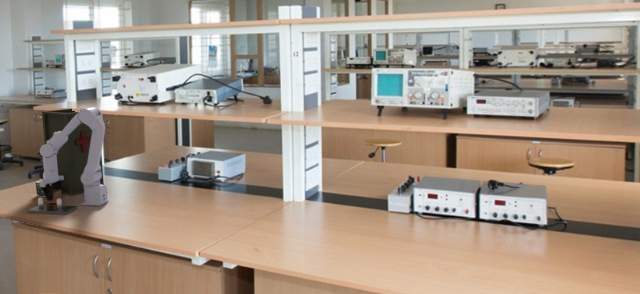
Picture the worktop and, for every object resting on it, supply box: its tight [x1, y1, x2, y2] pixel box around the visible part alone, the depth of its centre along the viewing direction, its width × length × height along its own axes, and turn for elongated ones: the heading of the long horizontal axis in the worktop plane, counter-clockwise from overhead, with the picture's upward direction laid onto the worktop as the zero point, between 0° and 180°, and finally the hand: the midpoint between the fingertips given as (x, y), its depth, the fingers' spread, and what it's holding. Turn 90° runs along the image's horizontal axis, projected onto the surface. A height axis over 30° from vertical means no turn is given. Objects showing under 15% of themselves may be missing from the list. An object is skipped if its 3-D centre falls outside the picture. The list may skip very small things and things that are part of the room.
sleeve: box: [44, 190, 63, 204], centre depth 259 cm, size 5×5×5 cm
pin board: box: [26, 196, 78, 216], centre depth 247 cm, size 18×9×6 cm, turn 81°
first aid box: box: [41, 108, 105, 196], centre depth 282 cm, size 18×18×40 cm
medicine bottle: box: [35, 170, 52, 198], centre depth 273 cm, size 7×7×12 cm
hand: (53, 198), depth 259 cm, fingers closed on sleeve, 5 cm apart
